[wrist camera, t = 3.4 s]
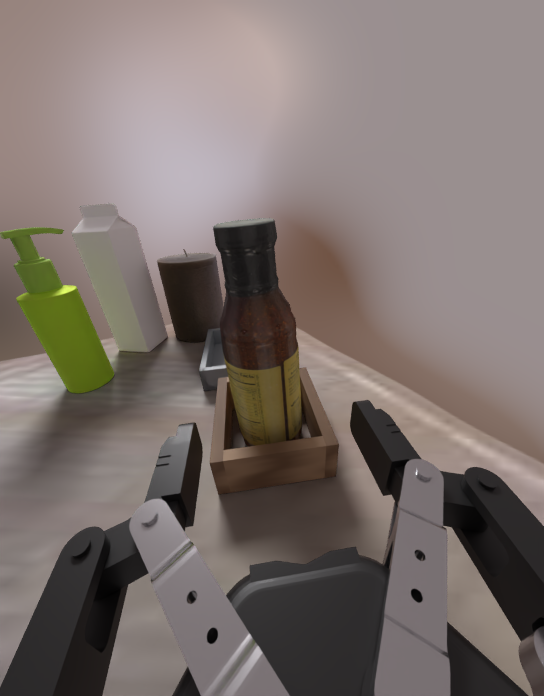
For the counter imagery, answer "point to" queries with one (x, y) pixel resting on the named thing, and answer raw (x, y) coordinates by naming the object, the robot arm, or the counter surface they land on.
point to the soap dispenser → (59, 317)
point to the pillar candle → (192, 294)
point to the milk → (120, 277)
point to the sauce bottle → (258, 334)
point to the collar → (272, 447)
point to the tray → (212, 361)
